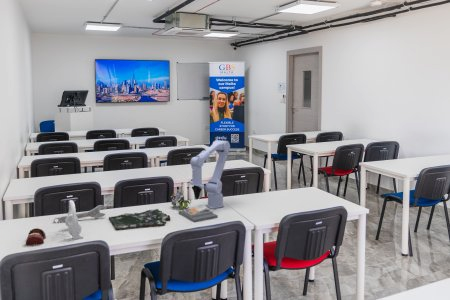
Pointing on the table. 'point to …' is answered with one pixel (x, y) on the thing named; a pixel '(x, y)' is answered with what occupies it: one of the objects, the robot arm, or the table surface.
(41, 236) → the dark brown rounded lump
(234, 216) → the table surface
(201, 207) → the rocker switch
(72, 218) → the grey figurine
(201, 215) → the grey stepped slab
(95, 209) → the wrench
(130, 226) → the topographical map
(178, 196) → the passion flower
